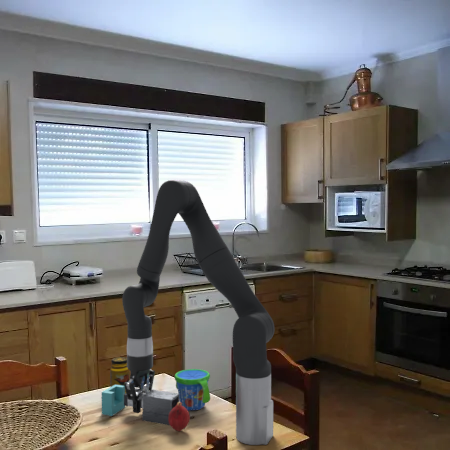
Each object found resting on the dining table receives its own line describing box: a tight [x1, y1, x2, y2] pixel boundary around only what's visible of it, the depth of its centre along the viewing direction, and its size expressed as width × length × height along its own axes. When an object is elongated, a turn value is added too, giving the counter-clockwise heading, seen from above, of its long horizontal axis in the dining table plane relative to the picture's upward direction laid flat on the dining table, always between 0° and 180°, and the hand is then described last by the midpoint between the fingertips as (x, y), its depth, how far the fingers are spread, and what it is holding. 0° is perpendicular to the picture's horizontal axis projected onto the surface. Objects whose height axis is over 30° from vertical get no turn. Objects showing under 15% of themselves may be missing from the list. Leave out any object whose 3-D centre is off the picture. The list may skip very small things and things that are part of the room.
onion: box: [168, 401, 191, 433], centre depth 137 cm, size 6×6×8 cm
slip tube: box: [124, 392, 146, 409], centre depth 147 cm, size 14×3×3 cm, turn 68°
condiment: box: [101, 356, 130, 399], centre depth 164 cm, size 7×8×12 cm
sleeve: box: [141, 389, 180, 426], centre depth 146 cm, size 9×6×7 cm, turn 68°
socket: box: [101, 385, 126, 417], centre depth 152 cm, size 4×7×7 cm, turn 158°
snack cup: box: [174, 368, 211, 412], centre depth 154 cm, size 16×10×10 cm
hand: (140, 409), depth 148 cm, fingers closed on slip tube, 3 cm apart
